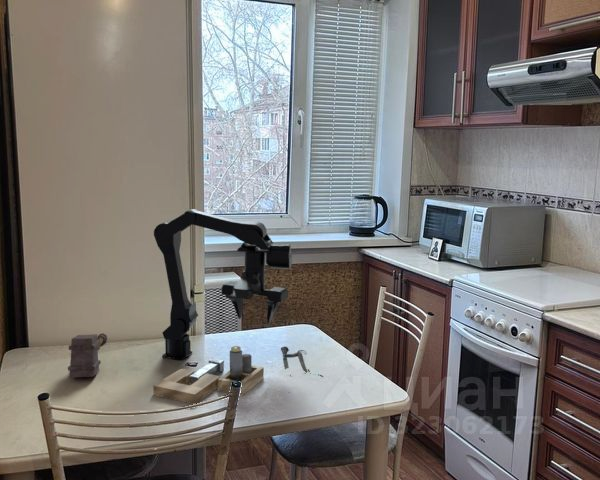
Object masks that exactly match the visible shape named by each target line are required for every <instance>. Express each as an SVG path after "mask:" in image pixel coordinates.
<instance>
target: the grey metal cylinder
mask: <svg viewBox="0 0 600 480" xmlns="http://www.w3.org/2000/svg"><path fill="white" fill-rule="evenodd" d="M241 349H242V348H241V346H237V345H235V346H231V347H230V350H229V371H230V380H235V381H240V382H241V381H242V355H243V350H241Z"/></svg>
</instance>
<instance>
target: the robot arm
mask: <svg viewBox="0 0 600 480" xmlns="http://www.w3.org/2000/svg"><path fill="white" fill-rule="evenodd" d="M191 226H197V227H200V228H204V229H208V230H211V231H212V230H213V231H215V232H219V233H224V234H227V235H230V236H233V237H235V238H236V239H238V240H239V241H241V242H242V244H241V246H239V247H238V248H237V252H241V253H243V252H244V270H243V271H242V273H241V278H240V279H239V280H238V281H232V280H231V281H228V282H225V284H224V283H223V285H221V288H220V289H221V290H220V294H221V295H224V297H225V298H226V299H228V300H230V301H231V303H232V305H233V306H234V310H235V313H236V315H237V318H238V319H239V320H240V319H242V315H243V305H244V304H243V303H244V302H243V301H244V299H245V300H251V299H252V298H253V296H254V295H255V296H261V297H262V296H263V297H266V298H267V301H266V302H265V303H266V305H267V316H266V321H267V324H271V321H272V319H273V317H274V315H275V311H276V310H277V308H278V306H279V304H280V303H282V302H283V301H285V300H287V299H288V298H289V291H288V289H287V288H286V287H280V286H274V287H272V288H271V289H266V288H267V285H268V284H267V283H266V282H265V281H266V274H267V273H268V272H267V271H268V270H267V269H266V265H267V266H268V267H269V268H270V269H279V270H280V269H282V270H283V269H285V270H290V269H292V265H293V264H292V263H293V262H292V261H293V254H292V249H291V248H292V247H291V244H290V243H289V244H288V243H287V244H285V243H284V244H277V243H275V244H274V242H273V240H272V238H271V237H270V236H269V235H268V232H267V228H266V225H265V224H264V223H262V222H260V221H256V220H254V221H252V220H235V219H231V218H227V217H223V216H218V215H216V214H212V213H207V212H205V211H204V212H203V211H199V210H197V209H196V208H192V209H189V210H186V211H185V212H184V213H183V214H181V215H179V216H178V217H176V218H174V219H173V220H167V221H164V222H161V223H160V224H158V225H156V227H155V228H154V230H153V237H154V240H155V243H156V245H157V247H158V248H159V250H160V252H161V254H162V255H163V260H164V265H165V270H166V271H165V272H166V277H167V283H168V288H169V293H170V299H171V306H170V307H171V308H170V317H169V320H170V325H169V326H168V327H167V328H165V330H164V331H162V335H163V338H164V341H165V343H164V345H165V346H164V347H165V349H164V350H165V353H163V354H162V358H168V359H172V360H176V361H177V360H178V361H181V360H183V359H185V358H187V357H189V356H190V355H192V354H193V351H192V350H191V340H190V334H188V332H189V331H190V329H191V328H192V327H193V326H194V325H195V324H196V322H197V317H199V314H198V311H197V303H196V302H193V303H191V302H190V300H189V297H188V293H187V288H186V286H187V285H186V281H185V275H184V270H183V264H182V259H181V254H180V249H181V243H182V232H183V231H184V230H186V229H188V228H189V227H191Z"/></svg>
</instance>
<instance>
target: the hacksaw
mask: <svg viewBox="0 0 600 480" xmlns="http://www.w3.org/2000/svg"><path fill="white" fill-rule="evenodd" d="M280 350H281V352H282V360H283V367H284V370H287V369H289V368H290V367H289V363H288V362H289V360H288V357H289V358H290V357H298V361H299V363H300V367H302V370H303V372H304V371H305V372H306V373H307V372H308V373H309V372H311V371H310V369H307V366H306V364H305V360H304V357H303V353H301V352H302V351H303V352H305V353H307V351H306V350H304V349H300V350H298V351H297V352H295V353H288V351H289V350H290V349H289V348H288V346H282V347H281V348H280ZM305 372H304V373H305ZM306 373H305V374H306ZM291 375H292V374H289V375H287V376H288V377H289V376H290V377H292V376H291ZM319 375H320V377H321V378H322V377H323V378H324V376H323V375H321V374H319Z"/></svg>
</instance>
